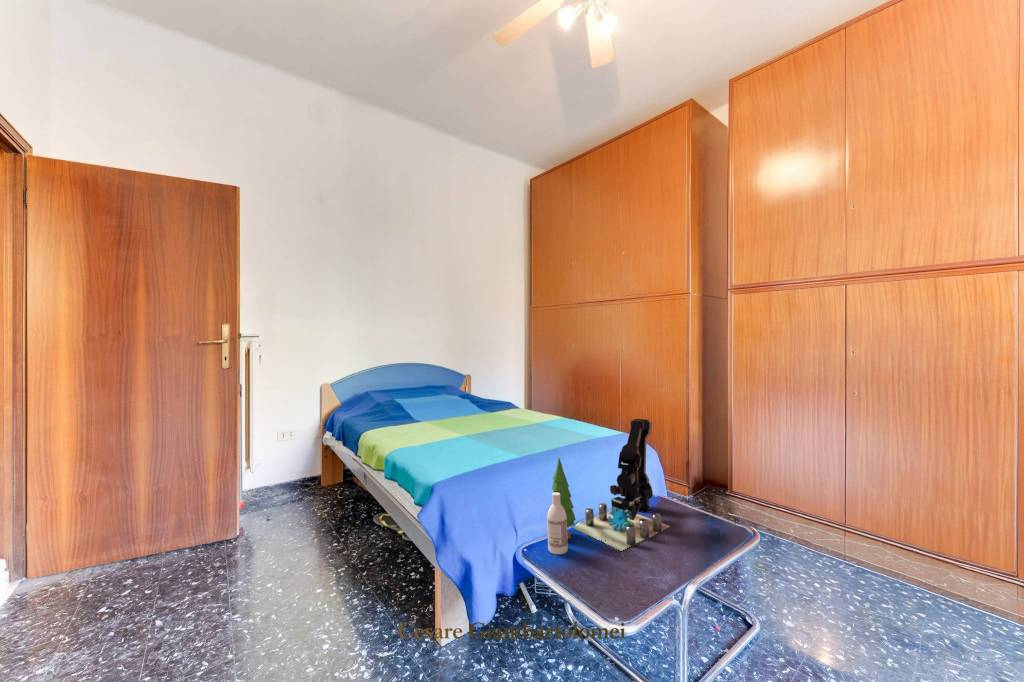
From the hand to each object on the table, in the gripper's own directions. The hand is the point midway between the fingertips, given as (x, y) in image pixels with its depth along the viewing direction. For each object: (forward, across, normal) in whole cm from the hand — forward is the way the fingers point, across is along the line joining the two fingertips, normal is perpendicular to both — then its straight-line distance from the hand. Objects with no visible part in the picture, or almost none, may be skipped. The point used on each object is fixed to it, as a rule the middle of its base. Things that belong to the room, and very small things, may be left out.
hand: (632, 519), depth 159 cm
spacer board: (+2, +6, -1) cm, 7 cm away
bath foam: (+2, +37, -4) cm, 37 cm away
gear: (+2, +7, 0) cm, 7 cm away
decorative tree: (+2, +28, -10) cm, 30 cm away
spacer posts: (+2, +6, 0) cm, 6 cm away
